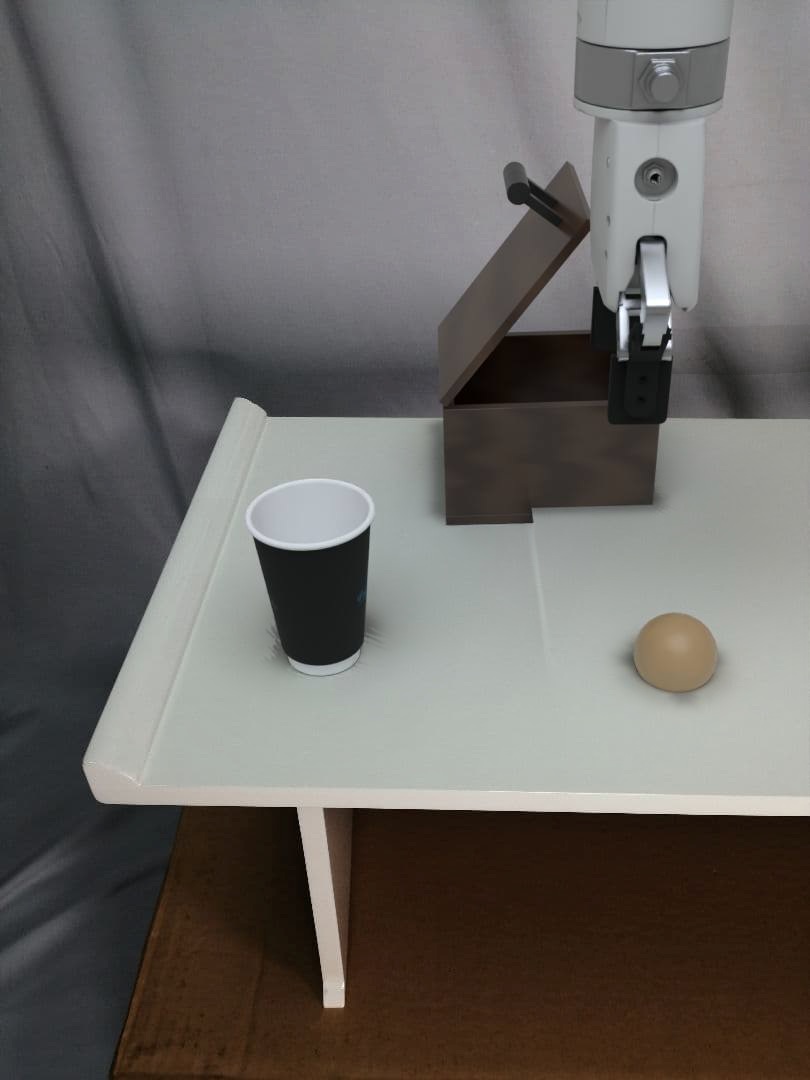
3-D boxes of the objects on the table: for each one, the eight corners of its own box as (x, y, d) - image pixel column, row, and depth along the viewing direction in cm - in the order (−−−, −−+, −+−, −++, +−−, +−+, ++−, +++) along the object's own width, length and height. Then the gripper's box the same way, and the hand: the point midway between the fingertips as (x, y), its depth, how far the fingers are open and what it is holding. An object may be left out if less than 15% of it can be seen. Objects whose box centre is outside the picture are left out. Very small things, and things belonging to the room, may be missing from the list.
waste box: (626, 435, 100) (633, 327, 95) (651, 519, 89) (661, 403, 84) (443, 440, 101) (440, 334, 96) (445, 525, 90) (442, 409, 84)
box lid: (574, 166, 88) (520, 125, 86) (595, 224, 77) (534, 178, 75) (444, 331, 96) (393, 297, 94) (446, 407, 84) (388, 369, 83)
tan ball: (704, 658, 75) (712, 595, 72) (720, 711, 71) (729, 645, 68) (625, 660, 75) (630, 597, 72) (637, 712, 71) (643, 647, 68)
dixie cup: (408, 656, 76) (401, 512, 70) (307, 709, 73) (291, 562, 67) (338, 602, 82) (326, 464, 76) (240, 648, 78) (219, 507, 72)
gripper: (761, 114, 52) (718, 454, 61) (695, 40, 66) (668, 324, 76) (590, 119, 52) (573, 456, 62) (561, 44, 67) (551, 326, 76)
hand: (625, 383), depth 69 cm, fingers open, 9 cm apart
